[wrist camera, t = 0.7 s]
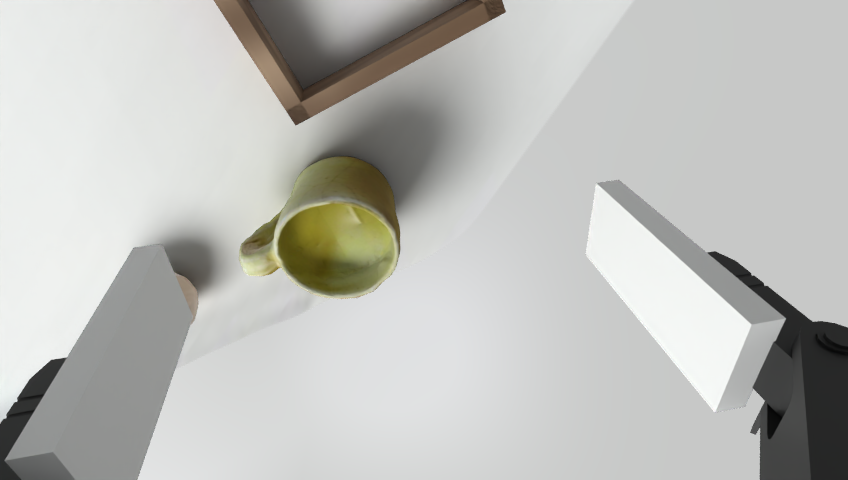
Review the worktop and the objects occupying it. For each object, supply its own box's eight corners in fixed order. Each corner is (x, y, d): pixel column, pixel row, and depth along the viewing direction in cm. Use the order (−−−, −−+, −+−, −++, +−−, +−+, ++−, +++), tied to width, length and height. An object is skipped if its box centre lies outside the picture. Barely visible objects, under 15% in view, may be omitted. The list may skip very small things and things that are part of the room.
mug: (406, 133, 37) (396, 228, 31) (407, 222, 45) (399, 313, 39) (249, 126, 37) (206, 220, 31) (276, 217, 45) (247, 307, 39)
